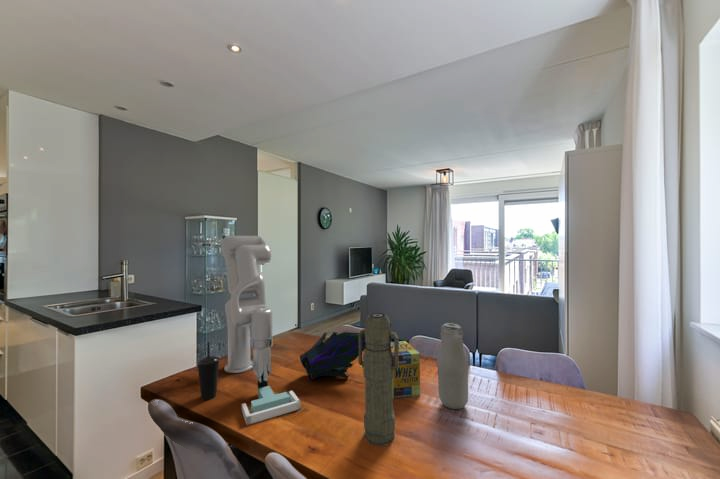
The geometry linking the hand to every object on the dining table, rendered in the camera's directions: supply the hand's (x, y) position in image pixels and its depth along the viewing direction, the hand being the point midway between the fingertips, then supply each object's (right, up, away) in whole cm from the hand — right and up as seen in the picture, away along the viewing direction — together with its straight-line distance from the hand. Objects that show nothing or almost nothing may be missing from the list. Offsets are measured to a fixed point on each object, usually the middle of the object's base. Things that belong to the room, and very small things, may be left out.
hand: (262, 391), depth 114 cm
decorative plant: (+26, -1, +16) cm, 31 cm away
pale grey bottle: (+68, 0, -10) cm, 69 cm away
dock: (+6, -1, -11) cm, 13 cm away
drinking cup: (-20, -2, -1) cm, 20 cm away
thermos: (+42, 0, -25) cm, 49 cm away
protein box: (+52, -1, +3) cm, 52 cm away
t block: (+4, -1, -7) cm, 8 cm away
